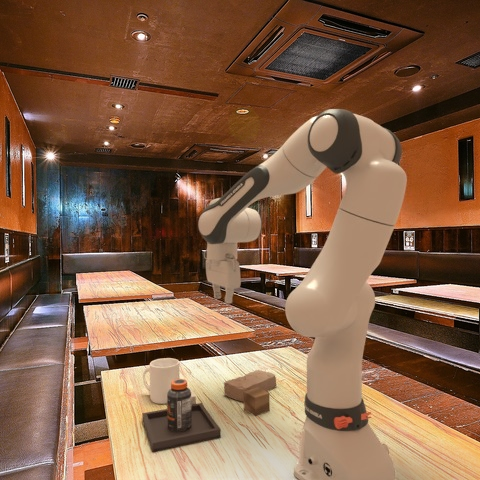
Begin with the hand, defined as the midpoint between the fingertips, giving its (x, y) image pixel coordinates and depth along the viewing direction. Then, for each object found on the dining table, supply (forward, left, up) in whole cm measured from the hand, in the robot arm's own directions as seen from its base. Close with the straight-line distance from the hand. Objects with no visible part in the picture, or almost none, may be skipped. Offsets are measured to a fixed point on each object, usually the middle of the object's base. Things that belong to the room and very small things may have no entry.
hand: (222, 300), depth 113 cm
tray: (-12, +16, -29) cm, 35 cm away
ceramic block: (0, +12, -29) cm, 32 cm away
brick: (+3, -10, -30) cm, 31 cm away
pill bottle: (-12, +16, -29) cm, 35 cm away
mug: (+9, +17, -29) cm, 35 cm away
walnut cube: (-10, -6, -29) cm, 31 cm away
